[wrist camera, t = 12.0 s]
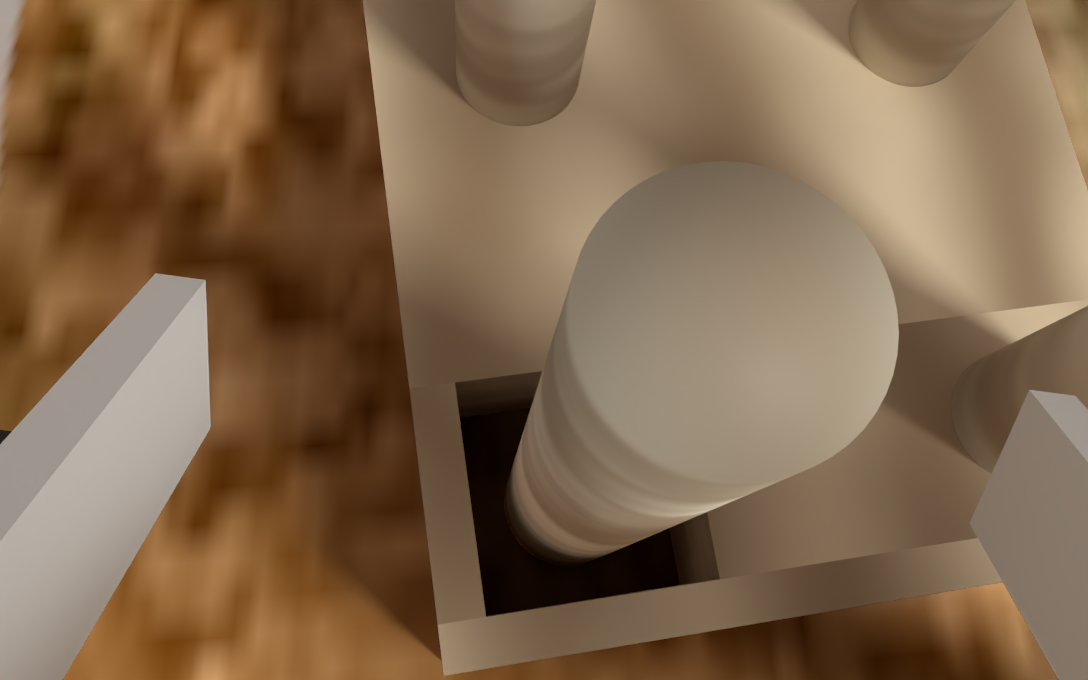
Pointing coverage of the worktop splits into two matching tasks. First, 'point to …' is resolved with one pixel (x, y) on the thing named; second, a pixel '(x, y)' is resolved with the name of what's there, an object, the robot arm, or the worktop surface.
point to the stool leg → (699, 358)
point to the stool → (761, 139)
